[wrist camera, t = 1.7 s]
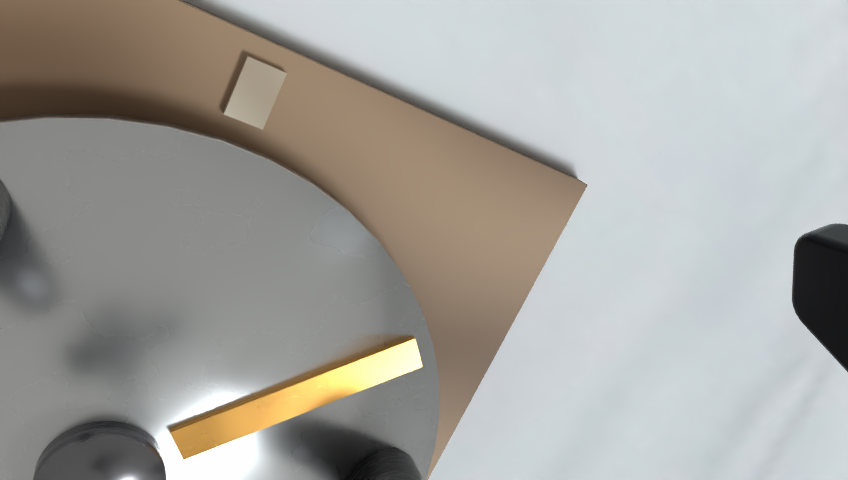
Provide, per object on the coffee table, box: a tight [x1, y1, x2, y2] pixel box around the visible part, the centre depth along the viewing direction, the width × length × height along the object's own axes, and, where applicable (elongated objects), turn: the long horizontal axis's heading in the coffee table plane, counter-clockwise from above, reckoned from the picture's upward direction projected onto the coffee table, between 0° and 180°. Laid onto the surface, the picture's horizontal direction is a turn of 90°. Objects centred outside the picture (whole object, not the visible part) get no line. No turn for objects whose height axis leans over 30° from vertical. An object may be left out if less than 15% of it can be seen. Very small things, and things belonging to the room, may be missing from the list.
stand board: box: [0, 0, 587, 480], centre depth 21 cm, size 23×20×1 cm
